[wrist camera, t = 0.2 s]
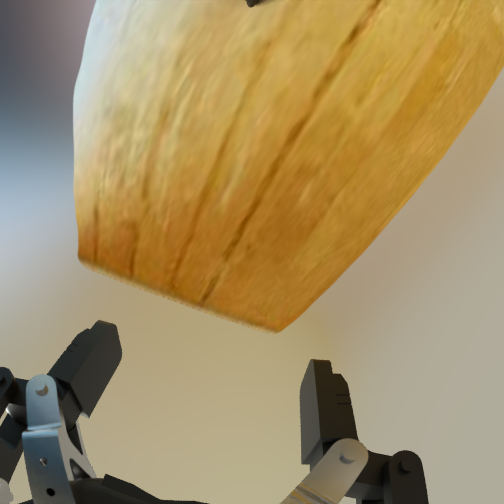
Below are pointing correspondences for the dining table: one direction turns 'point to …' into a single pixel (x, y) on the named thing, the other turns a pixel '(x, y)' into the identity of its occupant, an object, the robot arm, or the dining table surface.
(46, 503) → the robot arm
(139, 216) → the dining table surface
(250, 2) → the hand tool
